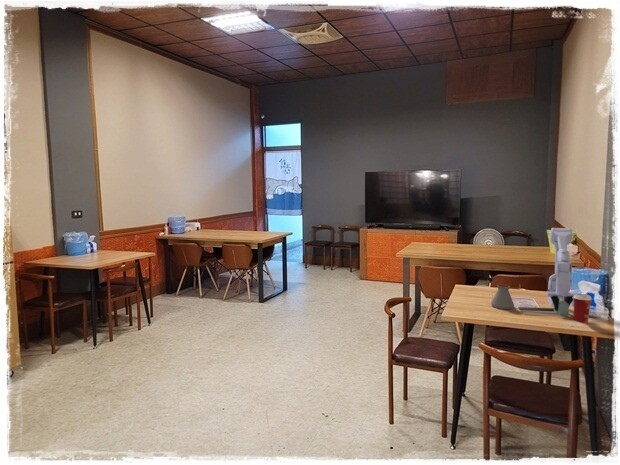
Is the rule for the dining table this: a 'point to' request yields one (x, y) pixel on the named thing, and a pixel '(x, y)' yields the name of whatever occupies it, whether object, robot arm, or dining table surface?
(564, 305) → the teal and beige block
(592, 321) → the dining table surface
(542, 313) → the board
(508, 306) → the coffee pot
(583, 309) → the paper cup
